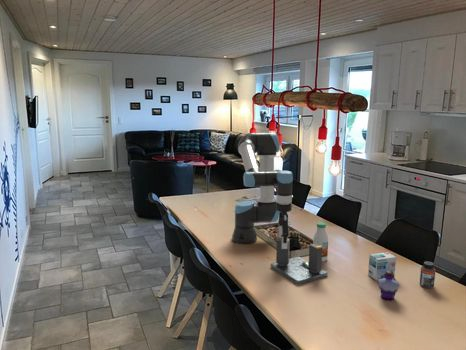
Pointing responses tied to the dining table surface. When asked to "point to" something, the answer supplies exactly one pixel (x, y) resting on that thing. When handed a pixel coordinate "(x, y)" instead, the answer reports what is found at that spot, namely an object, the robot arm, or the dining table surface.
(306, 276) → the levelling plate
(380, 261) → the light bulb box
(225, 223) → the dining table surface
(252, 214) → the robot arm
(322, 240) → the milk bottle
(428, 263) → the supplement bottle
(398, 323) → the dining table surface
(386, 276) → the potion bottle
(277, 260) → the yellow-tipped grey bar
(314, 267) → the knob
